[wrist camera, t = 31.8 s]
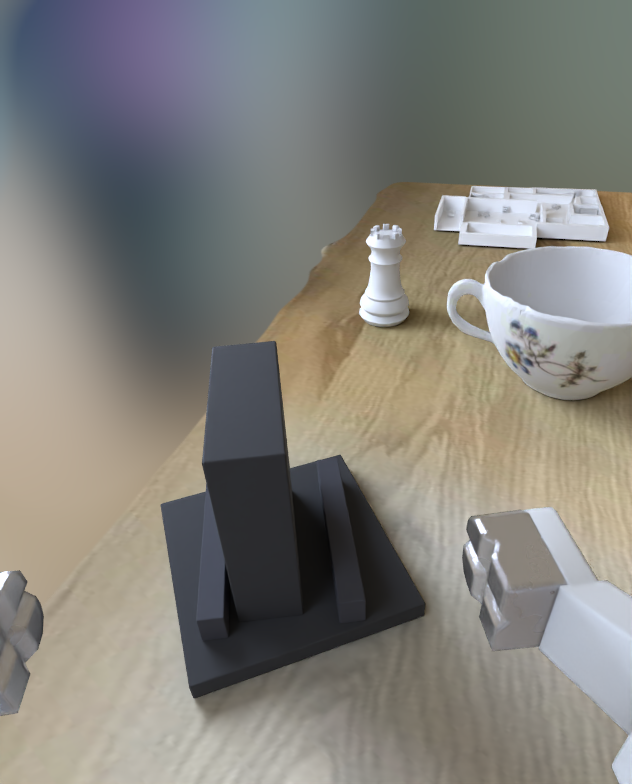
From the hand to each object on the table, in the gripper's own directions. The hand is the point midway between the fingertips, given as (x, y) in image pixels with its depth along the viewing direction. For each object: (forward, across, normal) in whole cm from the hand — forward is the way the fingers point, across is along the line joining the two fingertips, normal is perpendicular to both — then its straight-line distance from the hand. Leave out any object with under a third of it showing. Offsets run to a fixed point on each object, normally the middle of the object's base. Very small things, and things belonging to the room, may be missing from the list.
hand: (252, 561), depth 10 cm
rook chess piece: (+37, +10, -16) cm, 42 cm away
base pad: (+12, 0, -16) cm, 20 cm away
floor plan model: (+55, +30, -16) cm, 65 cm away
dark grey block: (+12, -1, -15) cm, 19 cm away
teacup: (+26, +20, -16) cm, 37 cm away
